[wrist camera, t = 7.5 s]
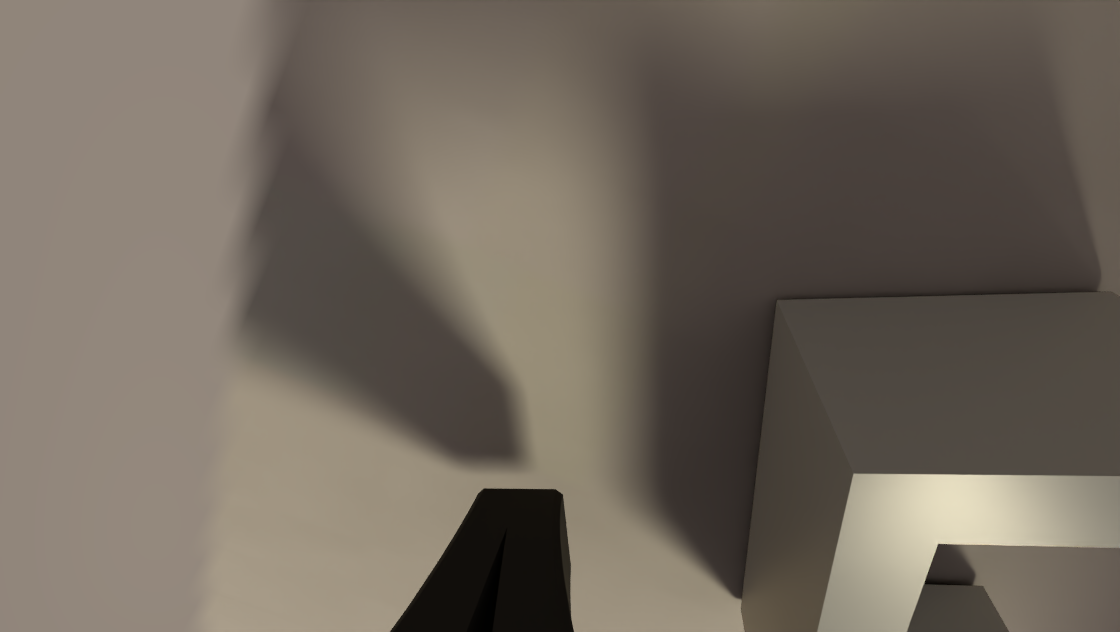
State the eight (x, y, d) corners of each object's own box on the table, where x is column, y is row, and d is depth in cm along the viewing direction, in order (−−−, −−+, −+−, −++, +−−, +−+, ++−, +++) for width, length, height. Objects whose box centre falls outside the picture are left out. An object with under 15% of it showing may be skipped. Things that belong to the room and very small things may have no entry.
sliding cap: (969, 617, 12) (1082, 833, 9) (740, 609, 13) (776, 810, 10) (1112, 291, 8) (1383, 478, 5) (776, 299, 9) (853, 473, 6)
